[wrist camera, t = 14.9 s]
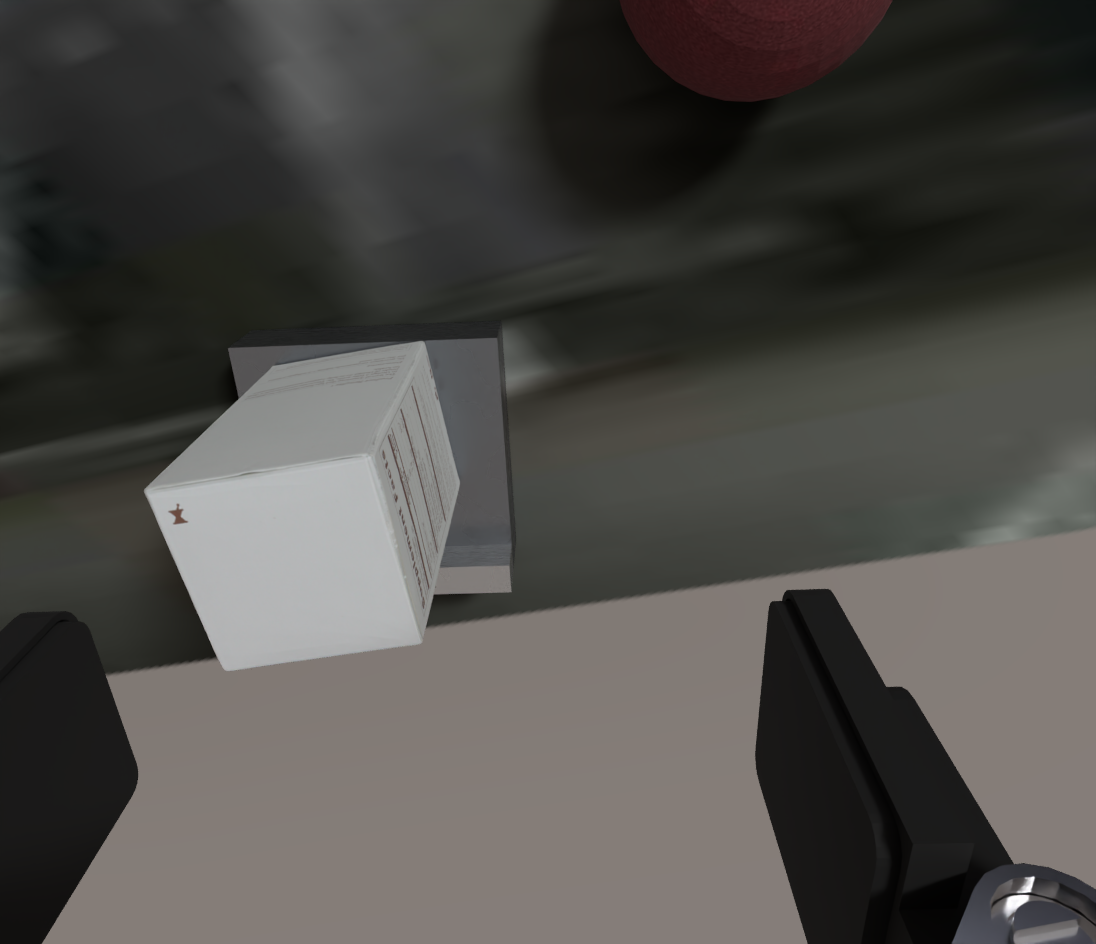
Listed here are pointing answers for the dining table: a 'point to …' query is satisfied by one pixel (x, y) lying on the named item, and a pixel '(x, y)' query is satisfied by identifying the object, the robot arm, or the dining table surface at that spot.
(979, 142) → the dining table surface
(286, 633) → the supplement box
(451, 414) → the stand plate
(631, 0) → the decorative ball
